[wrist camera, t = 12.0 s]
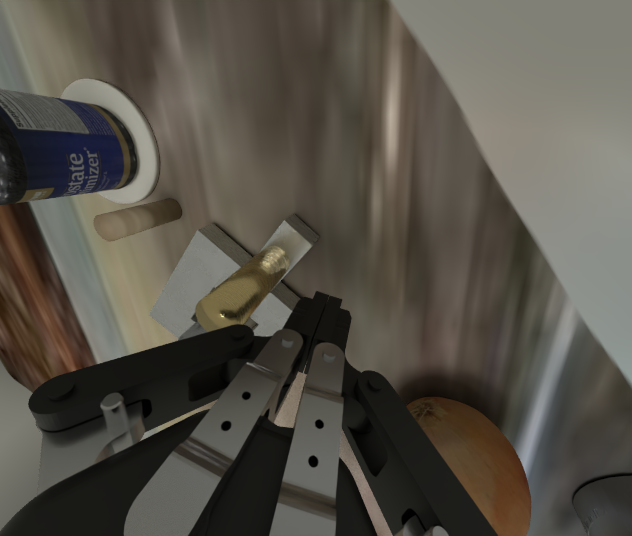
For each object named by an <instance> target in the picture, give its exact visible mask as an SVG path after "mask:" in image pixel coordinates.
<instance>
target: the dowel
mask: <svg viewBox="0 0 632 536" xmlns="http://www.w3.org/2000/svg"><path fill="white" fill-rule="evenodd" d="M181 214H182V210H181V207H180V205H179V204H178V203H177V202H176V201H175V200H173V199H165V200H161V201H157V202H152V203H148V204H144V205H139V206H135V207H131V208H126V209H122V210H118V211H114V212H109V213H105V214H101V215H97V216H96V217H95V218H94V227H95V229H96V231H97V233H98V234H99V235H100V236H101V237H102V238H103V239H105V240H107V241H115V240H118V239H121V238H124V237H126V236H129V235H132V234H135V233H138V232H141V231H144V230H147V229H150V228H153V227H156V226H159V225H162V224H165V223H168V222H171V221H174V220H177V219H179V218H180V217H181Z"/></svg>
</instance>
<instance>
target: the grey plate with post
mask: <svg viewBox="0 0 632 536" xmlns="http://www.w3.org/2000/svg"><path fill="white" fill-rule="evenodd" d="M318 238H319V236H318V235H317V234H316V233H314V232H313V231H312V230H311V229H310V228H309V227H308V226H307V225H306V224H305V223H303V222H302V221H301V220H300V219H299V218H298V217H297V216H296V215H295V214H293V215H291V216H290V217H288V218H287V219H285V220H284V221H283V222H282V224H281V225H280V226H279V228H278V229H277V230H276V231H275V233H274V234H273V235H272V236H271V238H270V239H269V240H268V242H267V243H266V244H265V245H264V247H263V248H262V249H261V251H260V252H259V253H258V254H257V255H256V256H254V257H252V256H250V255H249V254H248V253H247V252H246V251H245V250H244V249H242V248H241V247H240V246H239V245H238V244H237V243H235V242H234V241H233V240H232V239H231V238H230V237H229V236H227V235H226V234H225V233H224V232H223V231H222V230H220V229H219V228H218V227H217V226H216V225H215V224H214V223H213V224H210V225H208V226H206V227H203V228H201V229H199V230H197V232H196V233H195V235H194V237H193V239H192V240H191V242H190V244H189V246H188V247H187V249H186V251H185V253H184V254H183V256H182V258H181V260H180V261H179V263H178V265H177V267H176V268H175V270H174V272H173V273H172V275H171V277H170V279H169V280H168V282H167V284H166V286H165V287H164V289H163V291H162V293H161V294H160V296H159V298H158V300H157V301H156V303H155V305H154V307H153V308H152V310H151V312H150V313H149V315H150V316H151V317H152V318H153V319H155V320H156V321H157V322H158V323H160V324H161V325H162V326H163V327H165V328H166V329H167V330H168V331H170V332H171V333H172V334H173V335H175V336H176V337H177V338H178V339H179V337H180V336H181V335H182V334H183V333H184V332H186V331H187V330H188V329H189V328H190V327H191V326H192V325H193V324H194V323H196V322H197V321H198V322H199V323H200V325H201V326H202V327H203V328H204V329H205V330H206V331H207V332H210V331H213V330H217V329H220V328H223V327H227V326H230V325H234V324H242V325H243V324H244V323H245V322H246V321H247V320H248V318H249V317H250V318H251V319H253V320H254V321H255V322H256V323H257V324H256V325H255V326H254V327H253V328H252V330H253V332H254V336H273V334H274V333H275V332H276V331H278V330H281V329H282V328H283V326H284V325H285V323H286V321H287V319H288V318H289V316H290V314H291V312H292V311H293V309H294V307H295V305H296V304H297V302H298V300H300V298H299V297H298V296H297V295H295V294H294V293H293V292H292V291H291V290H290V289H289V288H287V287H286V286H285V285H284V284H283V283H282V282H280V281H281V280H282V279H283V278H284V276H285V275H286V274H287V273H288V272H289V271H290V270H291V269H292V268H293V267H294V266H295V264H296V263H297V262H298V261H299V260H300V259H301V258H302V257H303V256H304V255H305V254H306V252H307V251H308V250H309V249H310V248H311V247H312V246H313V245H314V243H315V242H316V241H317V240H318Z"/></svg>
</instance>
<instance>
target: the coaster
mask: <svg viewBox="0 0 632 536" xmlns="http://www.w3.org/2000/svg"><path fill="white" fill-rule="evenodd" d="M60 99H66V100H72V101H78V102H84V103H90V104H95V105H99V106H101V107H103V108H105V109H107V110H108V111H110V112H111V113H112V114H114V115H115V116H116V117H117V119H118V120H119V121H120V122H122V123H123V125H124V126H125V127H126V129H127V130H128V132H129V134H130V136H131V138H132V140H133V143H134V146H135V153H136V156H137V170H136V174H135V176H134V178H133V180H132V181H131V182H130V183H129V184H128V185H127V186H125V187H123V188H121V189H117V190H107V191H100V192H97V193H98V194H100V195H101V196H103V197H104V198H106V199H108V200H111V201H114V202H117V203H124V204H128V203H134V202H138V201H141V200H143V199H145V198H147V197H148V196H149V195H150V194H151V193H152V192H153V190H154V188H155V187H156V184H157V181H158V178H159V172H160V158H159V151H158V147H157V143H156V139H155V137H154V134H153V131H152V129H151V127H150V125H149V123H148V121H147V119H146V118H145V116H144V115H143V113H142V112H141V110H140V109H139V107H138V106H137V105H136V104H135V103H134V101H132V100H131V99H130V98H129V97H128V96H127V95H126V94H125V93H124V92H122V91H121V90H120V89H118V88H116V87H115V86H113V85H111V84H108V83H106V82H102V81H98V80H94V79H79V80H77V81H74V82H73V83H71V84H70V85H69V86H68V87H67V88H66V89H65V90H64V92H63V93H62V96H61V98H60Z"/></svg>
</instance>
